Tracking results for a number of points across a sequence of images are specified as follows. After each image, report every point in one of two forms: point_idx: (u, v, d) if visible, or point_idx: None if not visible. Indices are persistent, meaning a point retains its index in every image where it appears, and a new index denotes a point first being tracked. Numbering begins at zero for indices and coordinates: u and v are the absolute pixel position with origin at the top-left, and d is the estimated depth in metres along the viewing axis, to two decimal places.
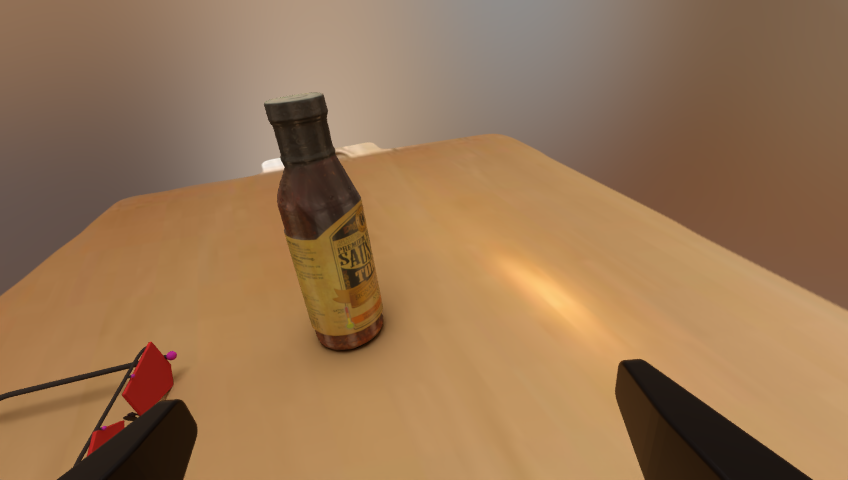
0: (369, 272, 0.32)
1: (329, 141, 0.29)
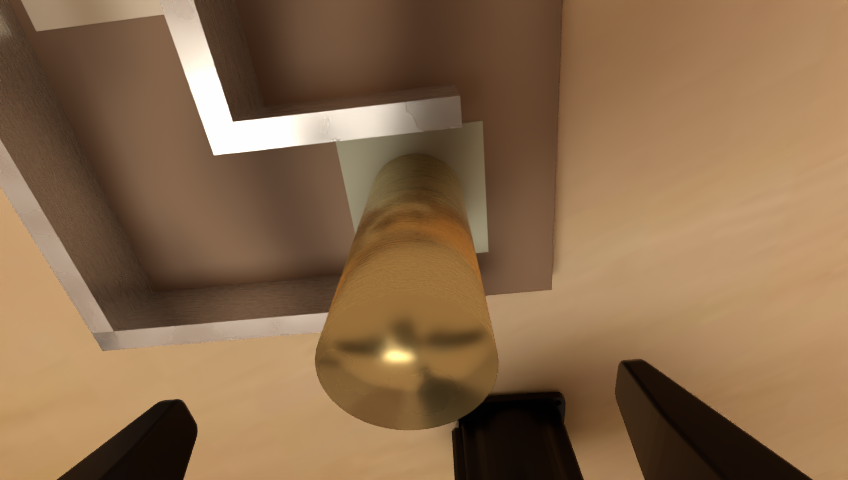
0: None
1: None
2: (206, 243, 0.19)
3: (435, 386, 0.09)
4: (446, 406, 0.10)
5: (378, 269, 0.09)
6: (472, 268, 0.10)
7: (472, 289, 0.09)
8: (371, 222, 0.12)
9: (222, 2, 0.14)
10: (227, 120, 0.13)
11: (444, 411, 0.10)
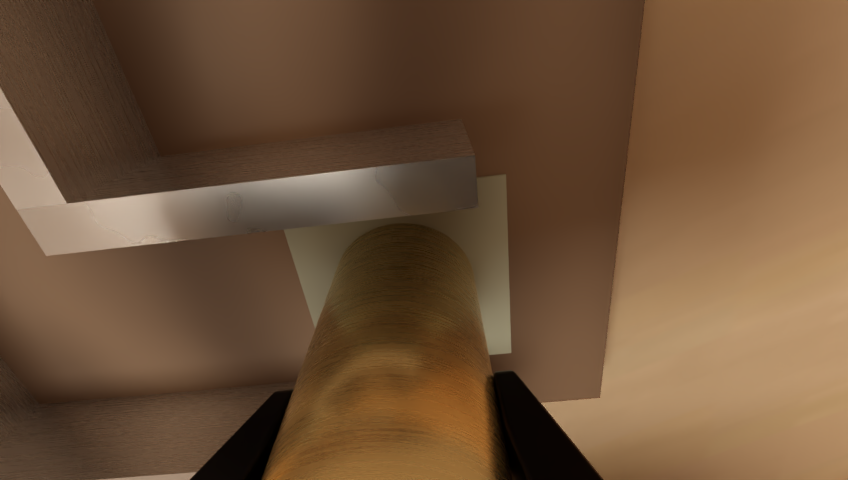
0: None
1: None
2: (100, 345, 0.13)
3: None
4: None
5: None
6: None
7: None
8: (302, 425, 0.06)
9: None
10: (57, 200, 0.08)
11: None
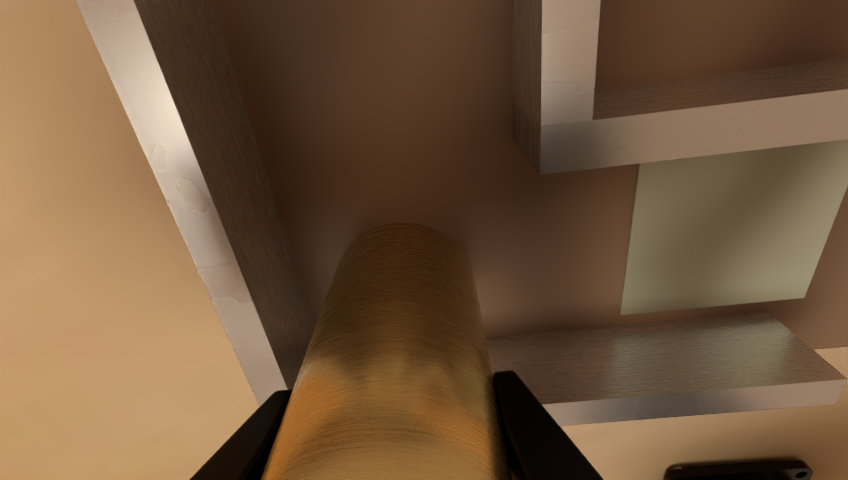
0: None
1: None
2: None
3: None
4: None
5: None
6: None
7: None
8: (302, 424, 0.06)
9: None
10: (583, 117, 0.08)
11: None
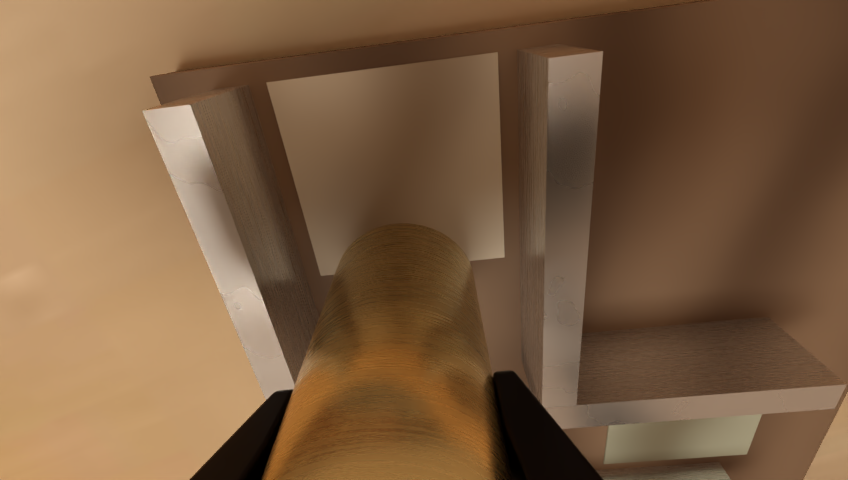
0: None
1: None
2: None
3: None
4: None
5: None
6: None
7: None
8: (302, 425, 0.06)
9: None
10: (570, 403, 0.12)
11: None
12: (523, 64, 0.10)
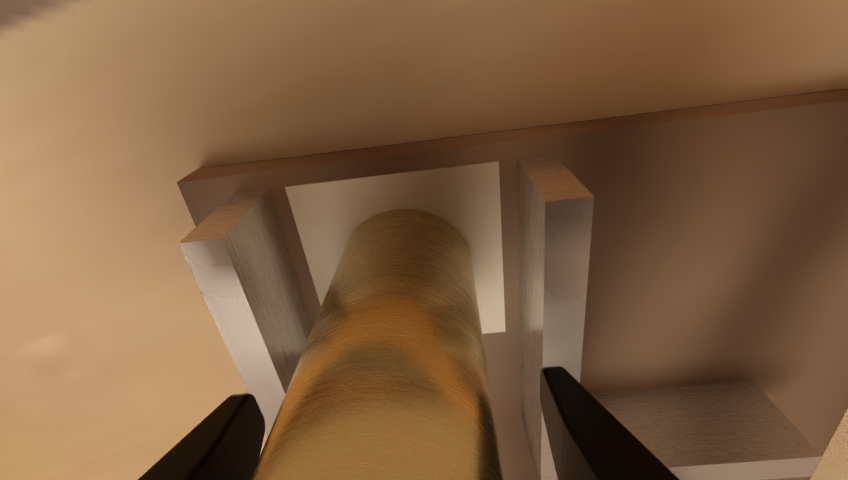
0: None
1: None
2: None
3: None
4: None
5: None
6: None
7: None
8: (310, 374, 0.07)
9: None
10: None
11: None
12: (522, 178, 0.11)
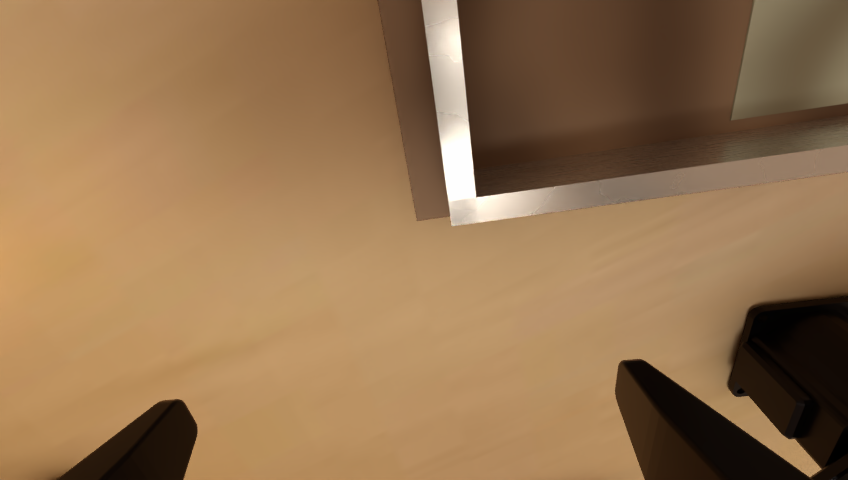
0: None
1: None
2: (551, 100, 0.16)
3: None
4: None
5: None
6: None
7: None
8: None
9: None
10: None
11: None
12: None
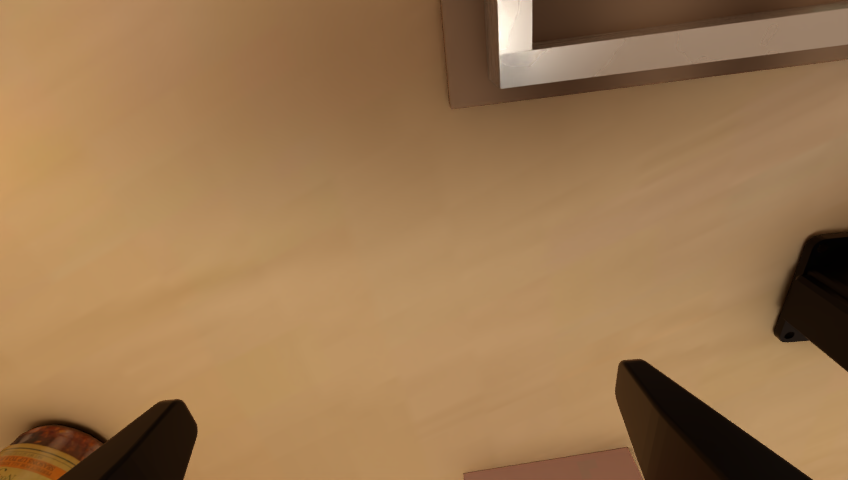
0: None
1: None
2: None
3: None
4: None
5: None
6: None
7: None
8: None
9: None
10: None
11: None
12: None
